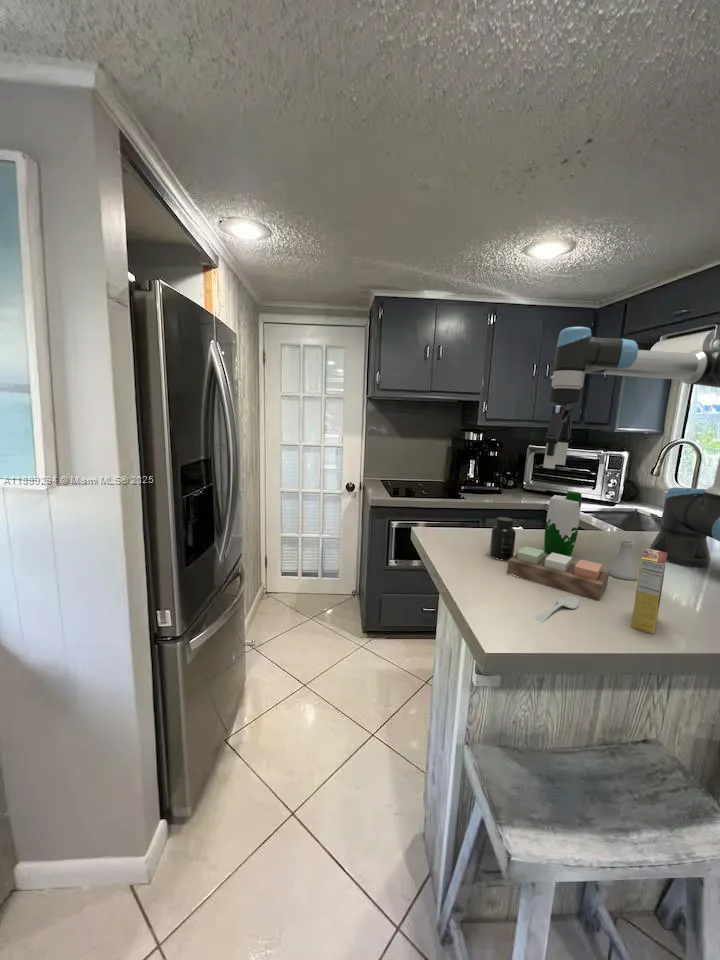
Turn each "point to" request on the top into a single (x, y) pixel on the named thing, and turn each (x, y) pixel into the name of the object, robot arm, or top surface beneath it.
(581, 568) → the terracotta key
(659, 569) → the candy box
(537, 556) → the sage key
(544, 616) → the spoon
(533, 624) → the top surface
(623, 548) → the flask
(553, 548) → the milk carton
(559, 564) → the white rectangular block
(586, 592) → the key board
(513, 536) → the supplement bottle
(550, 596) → the top surface
